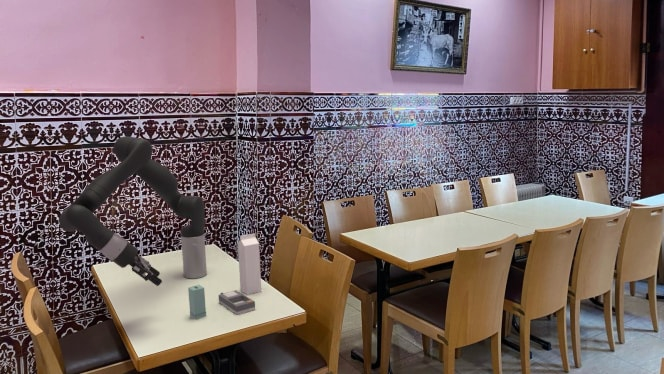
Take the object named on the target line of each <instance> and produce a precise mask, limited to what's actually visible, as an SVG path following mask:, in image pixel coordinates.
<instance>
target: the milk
mask: <svg viewBox="0 0 664 374" xmlns="http://www.w3.org/2000/svg"><path fill="white" fill-rule="evenodd" d="M237 250H238V267H239V270H238V271H239V284H240V285H239V286H240V287H239V288H240V290H239V291H241V293H244V295H245V294H246V296H249V295H252V294H256V293H260V292H262V281H261V280H262V279H261V278H262V277H261V257H260V243H259V240H258V239H257V237H256V233H255V232H254V233H249V234H242V235H240V240H238V242H237Z"/></svg>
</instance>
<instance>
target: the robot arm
mask: <svg viewBox="0 0 664 374" xmlns="http://www.w3.org/2000/svg"><path fill="white" fill-rule="evenodd" d="M113 152H114V156H115V157H116V158H117V160H118V161H119V162H120V163H119V164H116V166H115V167H112V168H111V169H108V170H107V171H105V172H103V173H101V174H100V175H99V176H96V178H94V179H93V180H92V181H91V182H90V183H89V184H88V185H87V186H86V187H85V188H84V190H82V192H81V193H80V194H79V196H78V197H77V198H76V199H75V200H74V201H72V203H70V204H69V205H68V206H67V207H66V208H65V209H64V210H63V211H62V212H61V214H60V216H59V218H58V224H59V227H60V228H61V229H62V230H63V231H66V232H69V233H73V232H77V231H79V232H81V233H82V234H83V235H84V236H85V240H86V242H87V243H88V244H89V245H90V246H92V247H93V248H94V249H96V250H98V251H99V252H100V253H102V255H103V256H104V257H105V258H107V259H108V260H110V261H111V262H112V263H114V264H116V266H118V267H120V268H123V269H124V268H126V267H127V266H130V267H131V271H132V272H134V273H135V274H136V275H138V276H139V277H141V278H142V279H143V280H144V281H145V282H146V281H150V282H151V283H152V284H154V285H155V286H156V287H159V286H160V285H161V284H162V283H163V281H162V279H161V278H159V275H160V274H161V273H160V271H159V270H157V269H156V268H154V267H153V266H152V264H151V263H150V262H149V261H148V260H147V259H145V258H144V257H142V256H141V255H140V254H138V251H139V249H138V248H137V247H136V246H134V245H133V244H132V243H131V242H129V241H128V240H127V239H125V238H124V237H122V235H119V234H117V233H115V232H114V231H112V230H111V229H110V228H108V227H107V226H106V225H104V224H103V223H102V222H101V220H100V219H99V218H98V217H97V216H96V215H95V214H94V212H95V211H97V210H98V209H99V208H100V207H101V206H102V205H103V204H105V202H106V201H107V199H109V197H110V196H111V195H112V194H113V193H115V191H116V190H117V189H118V188H119V187H120V186H121V185H122V184H124V183H125V182H126V181H127V180H128V179H130V178H131V177H132V176H133V175H135V174H136V175H137V176H138V177H140V179H141V180H142V181H143V182H144V183H146V185H148V187H149V188H150V189H151V190H152V191H154V192H155V193H156V194H157V195H158V196H159V197H160V198H161V199H162V200H163V201H164V202H165V203H166V204H167V206H169V208H170V209H171V210H172V211H173V213H174V214H175V215H176V216H177V217H178V218H181V219H186V220H187V219H189V220H190V224H189V225H186V226H183V227H182V228H181V229H180V241H181V253H182V254H181V255H182V265H183V277H184V278H186V279H199V278H204V277H205V276H207V272H208V271H207V255H206V243H205V242H206V241H205V240H206V239H205V227H206V226H205V225H206V222H205V221H206V220H205V219H206V218H205V209H206V208H205V201H204V199H203V198H202V197H201V196H198V195H184V194H181V193H180V191H178V187H179V181H178V179H177V177H176V176H175V175H174V174H173V172H171V170H170V169H169V168H167V167H166V166H165V165H163V164H161V163H159V162H158V161H155V160H154V159H151V158H152V156H153V146H152V143H151V142H150V141H149V140H147V139H145V138H140V137H134V136H129V135H128V136H121V137H120V138H117V140H116V141H115V142H114V146H113ZM146 274H147V275H146Z"/></svg>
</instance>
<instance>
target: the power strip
mask: <svg viewBox="0 0 664 374" xmlns="http://www.w3.org/2000/svg"><path fill="white" fill-rule="evenodd" d="M218 303H219V304H221V306H224V308H225V309H226V308H227V310H229V311H231V312H232V313H234V314H235V315H241V314H245V313H249V312H251V311H255V310H256V301H255V300H254V299H251V298H250V297H248V295H245V294H243V292H240V291H238V290H237V289H236V290H231V291H228V292H220V293H219V294H218Z"/></svg>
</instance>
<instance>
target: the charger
mask: <svg viewBox="0 0 664 374" xmlns="http://www.w3.org/2000/svg"><path fill="white" fill-rule="evenodd" d="M187 290H188V291H187V292H188V302H189V303H188V304H189V316H191V318H193V319H194V320H197V319H200V318H204V317H207V311H206V309H207V308H206V296H205V295H206V293H205V287H204V286H202V285H200V284H197V285H193V286H189V287H187Z"/></svg>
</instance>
